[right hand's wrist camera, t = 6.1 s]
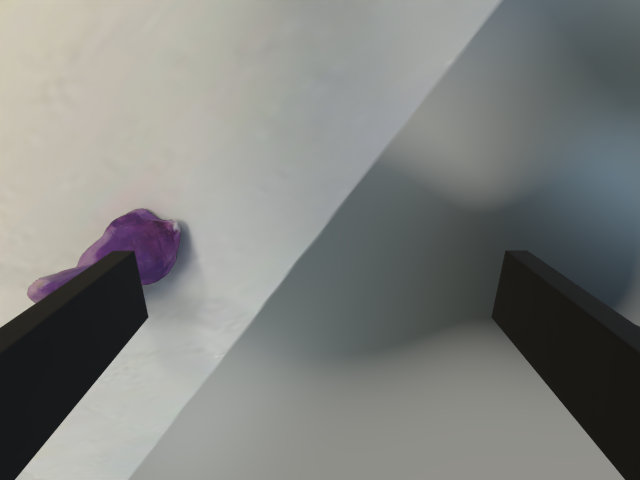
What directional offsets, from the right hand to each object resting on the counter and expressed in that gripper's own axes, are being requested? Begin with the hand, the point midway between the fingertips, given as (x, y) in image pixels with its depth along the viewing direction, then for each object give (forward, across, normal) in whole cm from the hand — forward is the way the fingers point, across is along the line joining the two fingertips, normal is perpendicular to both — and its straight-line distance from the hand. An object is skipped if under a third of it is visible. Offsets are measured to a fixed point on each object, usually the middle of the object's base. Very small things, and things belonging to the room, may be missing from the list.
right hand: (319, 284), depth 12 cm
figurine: (+28, -21, -10) cm, 37 cm away
